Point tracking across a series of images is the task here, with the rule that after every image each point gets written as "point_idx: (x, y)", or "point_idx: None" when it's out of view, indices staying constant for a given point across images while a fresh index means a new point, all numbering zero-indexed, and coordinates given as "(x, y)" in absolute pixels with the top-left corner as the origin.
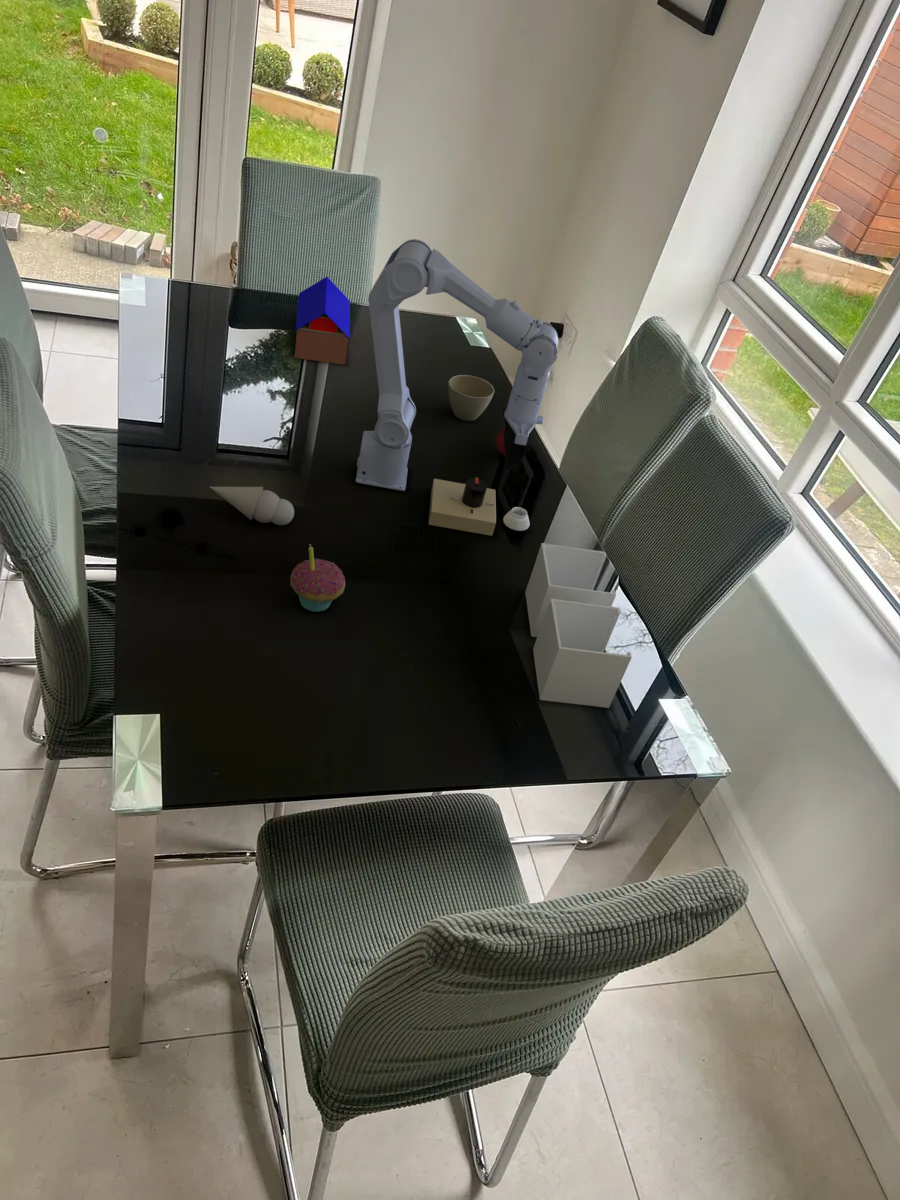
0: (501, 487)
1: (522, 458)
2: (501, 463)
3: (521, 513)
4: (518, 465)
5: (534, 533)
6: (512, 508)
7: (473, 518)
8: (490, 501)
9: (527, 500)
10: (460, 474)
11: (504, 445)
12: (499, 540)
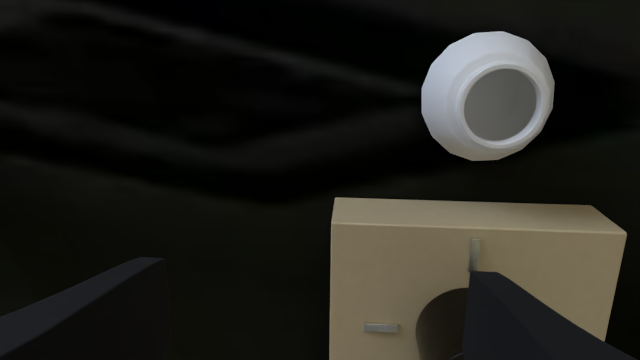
0: (202, 151)
1: (592, 337)
2: (8, 144)
3: (440, 77)
4: (528, 293)
5: (539, 2)
6: (478, 143)
7: (603, 330)
8: (444, 251)
9: (265, 28)
10: (174, 313)
11: (166, 340)
12: (619, 174)
